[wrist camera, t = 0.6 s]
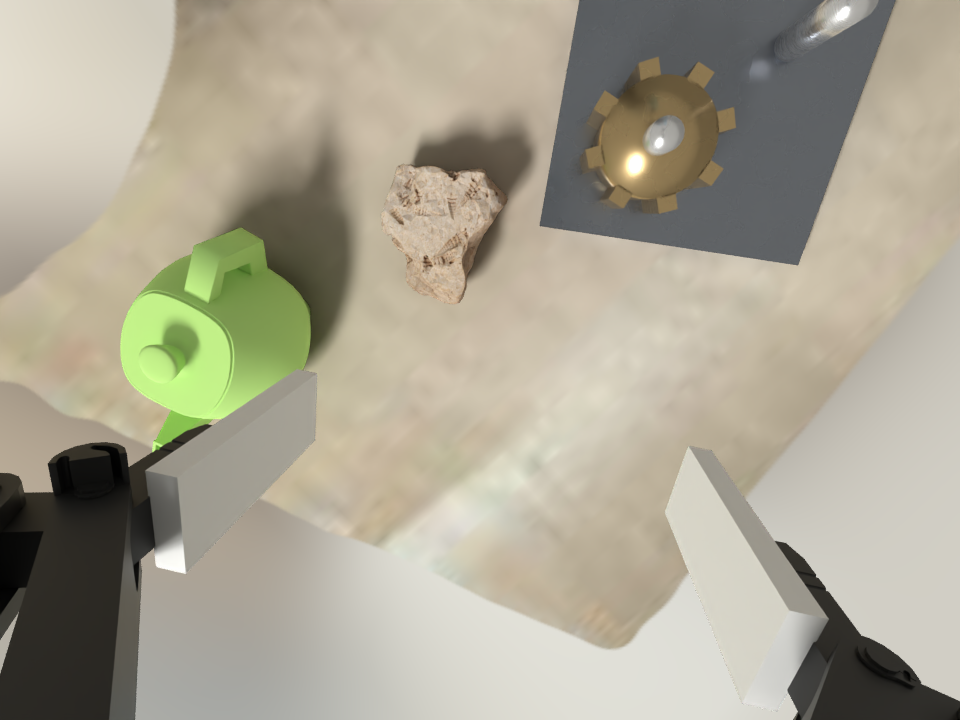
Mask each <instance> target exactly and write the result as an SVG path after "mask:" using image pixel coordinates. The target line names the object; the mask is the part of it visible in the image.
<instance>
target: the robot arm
mask: <svg viewBox="0 0 960 720" xmlns="http://www.w3.org/2000/svg"><path fill="white" fill-rule="evenodd" d="M316 397H317V373H314V372H309V371H304V370H299V369H296V370H295V371H293V372H292V373H290V374H289V375H287V376H286V377H284V378H283V379H281V380H280V381H278V382H277V383H275V384H274V385H272V386H271V387H269V388H268V389H266V390H265V391H263V392H262V393H260V394H259V395H257V396H256V397H254V398H253V399H251V400H250V401H249V402H247V403H246V404H244V405H243V406H241V407H240V408H238V409H237V410H235V411H234V412H232V413H231V414H229V415H228V416H226V417H225V418H223V419H222V420H220V421H219V422H217V423H216V424H214V425H208V424H204V425H201V426H199V427H196V428H193V429H190V430H187V431H185V432H184V433H182V434H181V435H179V436H177V437H176V438H174V439H173V440H172V441H171V442H168V443H166V444H165V445H163V446H162V447H160V449H159V450H155V451H154V452H152V453H150V454H149V455H147V456H146V457H144V458H143V459H141V460H140V461H138V462H137V463H135V464H133V465H132V466H130V467H128V460H127V453H126V450H125V448H124V447H123V446H121V445H119V444H115V443H108V442H101V443H90V444H85V445H80V446H76V447H73V448H70V449H68V450H65V451H63V452H61V453H59V454H58V455H56V456H54V457H53V458H52V459H51V461H50V462H49V463H48V467H49V472H50V477H51V482H52V487H53V492H52V493H51V492H49V493H47V492H45V493H44V492H43V493H24V490H23V486H22V482H21V480H20V478H19V476H16V475H13V474H10V473H0V639H1V638H2V636H3V635H4V633H5V632H6V630H7V629H8V627H9V626H10V624H11V622H12V621H13V620H14V618H15V617H16V615H17V614H18V612H19V614H18V618H17V621H16V624H15V627H14V631H13V634H12V637H11V640H10V644H9V647H8V650H7V654H6V657H5V660H4V663H3V667H2V670H1V673H0V720H135V710H136V686H137V666H138V643H139V642H138V641H139V621H140V620H139V619H140V599H141V577H142V569H141V559H142V558H143V557H144V556H145V555H146V554H147V553H148V552H150V551H151V550H152V549H153V548H154V551H155V560H156V567H159V568H163V569H167V570H172V571H176V572H180V573H187V572H188V571H189V570H190V569H191V568H192V567H193V566H194V565H195V564H196V563H197V562H198V561H199V559H201V558H202V557H203V556H204V554H205V553H206V552H207V551H208V550H209V549H210V548H211V547H212V546H213V545H214V544H215V543H216V542H217V541H218V540H219V539H220V538H221V537H222V536H223V535H224V533H226V532H227V530H229V529H230V528H231V526H233V525H234V523H235V522H236V521H237V520H238V519H239V518H240V517H241V516H242V515H243V514H244V513H245V512H246V511H247V510H248V509H249V508H250V507H251V506H252V505H253V504H254V503H255V502H256V501H257V500H258V499H259V498H260V497H261V496H262V495H263V493H264V492H265V491H266V490H267V489H268V488H269V487H270V486H271V485H272V484H273V483H274V482H275V481H276V480H277V479H278V478H279V477H280V476H281V475H282V474H283V473H284V472H285V471H286V470H287V469H288V468H289V467H290V466H291V465H292V463H293V462H294V461H295V460H296V459H297V458H298V457H299V456H300V455H301V454H302V453H303V452H304V451H305V450H306V449H307V448H308V447H309V446H310V445H311V444H312V443H313V442H314V441H315V427H316ZM665 514H666V516H667V519H668V521H669V524H670V526H671V529H672V531H673V534H674V536H675V539H676V541H677V544H678V546H679V549H680V551H681V554H682V556H683V559H684V561H685V564H686V566H687V569H688V571H689V574H690V576H691V579H692V581H693V584H694V585H695V589H696V591H697V594H698V596H699V598H700V601H701V603H702V606H703V608H704V611H705V613H706V616H707V618H708V621H709V623H710V626H711V628H712V631H713V633H714V636H715V638H716V641H717V643H718V646H719V648H720V651H721V653H722V656H723V658H724V661H725V663H726V666H727V668H728V671H729V673H730V676H731V678H732V680H733V683H734V685H735V688H736V690H737V693H738V695H739V698H740V700H741V703H742V704H747V705H751V706H755V707H759V708H764V709H768V710H773V711H776V712H777V711H778V710H779V708H780V706H781V704H782V703H783V701H784V699H785V697H786V695H787V693H789V695H790V697H791V699H792V701H793V702H794V704H795V706H796V708H797V710H798V713H797V714H796V716H795V718H794V719H793V720H960V701H958V700H956V699H954V698H951V697H949V696H947V695H945V694H942V693H940V692H938V691H935V690H933V689H931V688H929V687H927V686H924V685H922V684H921V681H920V680H919V678H918V677H917V675H916V674H915V673H914V671H913V670H912V669H911V668H910V666H908V665H907V664H906V663H905V662H904V661H903V660H902V659H901V658H900V657H899V656H898V655H896V654H894V653H893V652H892V651H891V650H889V649H887V648H886V647H885V646H883V645H882V644H880V643H878V642H876V641H874V640H872V639H870V638H867V637H864V636H861V635H860V633H859V632H858V631H857V629H856V628H855V627H854V625H853V624H852V622H851V621H850V620H849V618H848V617H847V616H846V614H845V613H844V612H843V610H842V609H841V608H840V606H839V605H838V604H837V602H836V601H835V600H834V598H833V597H832V596H831V594H830V593H829V592H828V591H826V588H825V586H824V585H823V584H822V582H821V581H820V580H819V578H816V574H815V573H814V571H813V570H812V569H811V567H810V566H809V565H808V563H807V562H806V561H805V559H804V558H803V557H801V556H800V555H799V554H798V553H796V551H794V550H793V549H792V548H791V547H789V545H787V544H786V543H783V542H777V541H774V540H773V538H772V537H771V535H770V534H769V532H768V531H767V529H766V528H765V527H764V525H763V524H762V522H761V521H760V519H759V518H758V517H757V515H756V514H755V512H754V511H753V509H752V508H751V507H750V505H749V504H748V502H747V501H746V499H745V498H744V496H743V495H742V493H741V492H740V491H739V489H738V488H737V486H736V485H735V483H734V482H733V481H732V479H731V478H730V476H729V475H728V473H727V472H726V470H725V469H724V468H723V466H722V465H721V463H720V462H719V460H718V459H717V458H716V456H715V455H714V453H713V452H712V450H707V449H702V448H697V447H692V446H688V448H687V451H686V454H685V457H684V460H683V462H682V465H681V468H680V471H679V474H678V477H677V479H676V482H675V485H674V488H673V491H672V494H671V496H670V499H669V502H668V505H667V508H666V511H665Z"/></svg>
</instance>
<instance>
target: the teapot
mask: <svg viewBox="0 0 960 720" xmlns="http://www.w3.org/2000/svg"><path fill="white" fill-rule="evenodd" d="M310 315H311V311H310V307H309V305H308V304H307V302H305V301H304V300H303V298H302V297H301V295H300V293H299V292H298V291H297V290H296V289H295V288H294V287H293V286H292V285H291V284H290V283H289V282H287V281H286V280H285V279H284V278H282V277H281V276H279V275H278V274H276V273H275V272H273V271H272V270H270V269H269V268H267V262H266V255H265V248H264V242H263V240H262V239H260V238H258V237H257V236H255V235H253V234H251V233H250V232H248V231H246V230H244V229H243V228H238V229H236V230H233V231H230V232H228V233H225V234H223V235H220V236H217V237H215V238H212V239H210V240H207V241H204V242H202V243H199V244H197V245H194V247H193V252H192V254H191V255H188V256H185V257H183V258H181V259H179V260H177V261H175V262H174V263H172V264H171V265H169V266H168V267H166V268H165V269H163V270H162V271H161V272H160V273H159V274H158V275H156V277H155V278H154V279H153V280H152V281H151V282H150V283H149V284H148V285H147V286H146V287H145V288H144V290H143V291H142V292H141V293H140V294H139V295H138V297H137V298H136V300H135V301H134V303H133V304H132V306H131V307H130V310H129V312H128V314H127V316H126V319H125V321H124V324H123V328H122V334H121V344H120V347H121V362H122V366H123V370H124V373H125V375H126V377H127V379H128V381H129V382H130V383H131V385H132V386H133V387H134V388H135V389H136V390H138V391H139V392H140V393H142V394H143V395H145V396H146V397H148V398H149V399H151V400H153V401H155V402H156V403H158V404H160V405H162V406H164V407H166V408H168V409H170V410H171V412H170V413H169V415H168V417H167V419H166V421H165V423H164V425H163V427H162V429H161V431H160V433H159V435H158V437H157V439H156V440H154V441H153V449H152V452H154V451H155V450H159V449H160V447H162V446H163V445H165V444H166V443H168V442H171V441H172V440H173V439H174V438H176V437H177V436H179V435H181V434H182V433H184V432H185V431H187V430H190V429H193V428H196V427H199V426H201V425H204V424H208V423H210V422H211V421H212V420H213V419H223V418H225V417H226V416H228V415H229V414H231V413H232V412H234V411H235V410H237V409H238V408H240V407H241V406H243V405H244V404H246V403H247V402H249V401H250V400H251V399H253V398H254V397H256V396H257V395H259V394H260V393H262V392H263V391H265V390H266V389H268V388H269V387H271V386H272V385H274V384H275V383H277V382H278V381H280V380H281V379H283V378H284V377H286V376H287V375H289V374H290V373H292V372H293V371H295V370H296V369H299V370H303V369H304V366H305V364H306V361H307V358H308V353H309V348H310V339H311V325H310Z"/></svg>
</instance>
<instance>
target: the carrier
mask: <svg viewBox="0 0 960 720" xmlns="http://www.w3.org/2000/svg"><path fill="white" fill-rule="evenodd" d="M894 3H895V0H579V6H578V12H577V17H576V23H575V29H574V34H573V40H572V46H571V51H570V57H569V63H568V68H567V74H566V79H565V85H564V91H563V96H562V102H561V108H560V113H559V119H558V125H557V130H556V136H555V142H554V147H553V153H552V158H551V164H550V170H549V175H548V181H547V187H546V192H545V198H544V204H543V209H542V215H541V221H540V226H543V227H550V228H556V229H563V230H570V231H576V232H583V233H589V234H596V235H602V236H609V237H616V238H622V239H629V240H635V241H642V242H648V243H655V244H662V245H668V246H675V247H681V248H688V249H694V250H701V251H708V252H714V253H721V254H727V255H734V256H740V257H747V258H754V259H760V260H767V261H773V262H780V263H786V264H793V265H798V264H799V261H800V259H801V256H802V253H803V250H804V248H805V245H806V242H807V239H808V237H809V234H810V231H811V229H812V226H813V223H814V220H815V218H816V215H817V212H818V210H819V207H820V204H821V201H822V199H823V196H824V193H825V191H826V188H827V185H828V182H829V180H830V177H831V174H832V172H833V169H834V166H835V163H836V161H837V158H838V155H839V153H840V150H841V147H842V144H843V142H844V139H845V136H846V134H847V131H848V128H849V125H850V123H851V120H852V117H853V114H854V112H855V109H856V106H857V104H858V101H859V98H860V95H861V93H862V90H863V87H864V85H865V82H866V79H867V76H868V74H869V71H870V68H871V66H872V63H873V60H874V57H875V55H876V52H877V49H878V47H879V44H880V41H881V38H882V36H883V33H884V30H885V28H886V25H887V22H888V19H889V17H890V14H891V11H892V8H893V6H894Z"/></svg>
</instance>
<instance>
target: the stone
mask: <svg viewBox="0 0 960 720" xmlns="http://www.w3.org/2000/svg"><path fill="white" fill-rule="evenodd" d="M506 202H507V196H506V194H504V193H503V192H502V191H501V190H500V189H498V187H497V186H496V185H495V184H494V182H493V181H492V180H490V178H489V177H488V176H487V174H486V171H485V170H484V169H480V168H478V169H469V170H460V171H457V172H455V171H452V170H450V171H445V170H444V169H442V168H439V167H435V166H421V167H415V166H413V165H405V164H403V165H400V166H398V167H397V169H396V173H395V177H394V180H393V183H392V186H391V189H390V191H389V193H388V195H387V198H386V201H385V205H384V209H383V212H382V214H381V219H382V230H383V231H384V232H385V233H386V234H387V235H392V238H393V239H392V241H393V243H394V245H395V246H396V247H397V248H398V250H400V251H402V252H404V253H405V255H406V257H407V270H406V281H407V283H408V284H409V286H411V287H412V288H413V289H414V290H416V291H417V292H418V293H419V294H422V295H430V296H431V297H433V298H436V299H438V300H440V301H442V302H444V303H449V304H456V303H460V301H461V300H462V298H463V297H464V293H465V290H466V287H467V274H468V272H469V271H470V269H471V268H472V265H473V262H474V257H475V254H476V252H477V247H478V245H479V244H480V242H481V240H482V238H483V235H484V234H485V233H486V232H487V230H488V229H489V226H490V225H491V224H492V223H493V221H494V220H495V218H496V216H497V214H498V213H499V211H500V210H501V209H502V208H503V207H504V205H505V204H506Z"/></svg>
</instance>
